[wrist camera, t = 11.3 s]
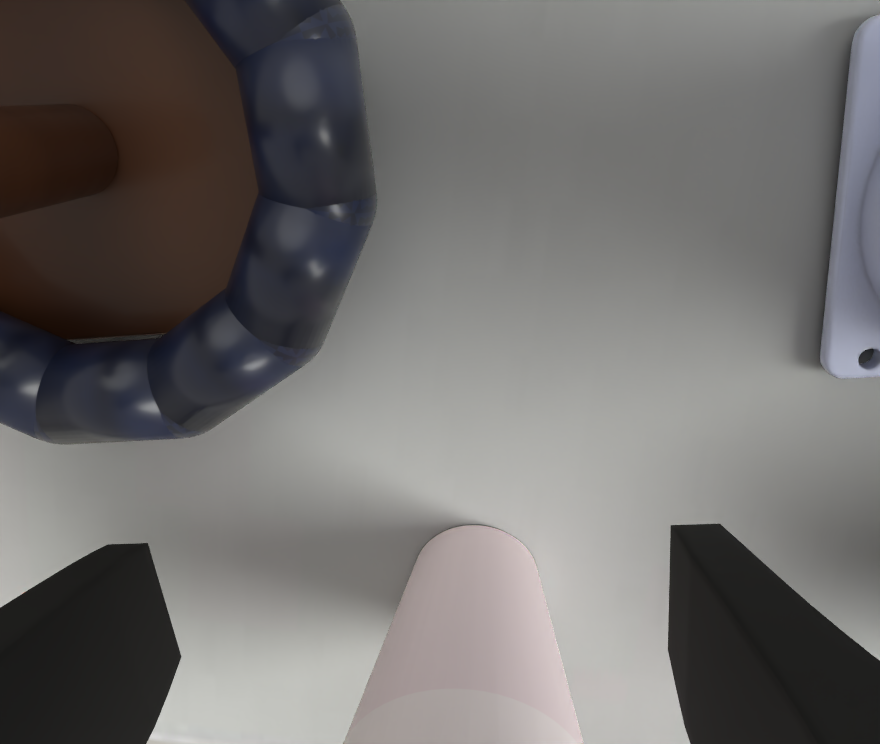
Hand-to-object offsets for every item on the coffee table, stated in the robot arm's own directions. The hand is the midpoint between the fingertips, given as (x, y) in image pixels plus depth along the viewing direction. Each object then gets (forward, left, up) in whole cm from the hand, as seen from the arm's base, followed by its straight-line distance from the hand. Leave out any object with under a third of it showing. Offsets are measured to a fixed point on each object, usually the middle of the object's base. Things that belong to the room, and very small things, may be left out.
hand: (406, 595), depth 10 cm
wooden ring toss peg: (+8, -6, -9) cm, 14 cm away
